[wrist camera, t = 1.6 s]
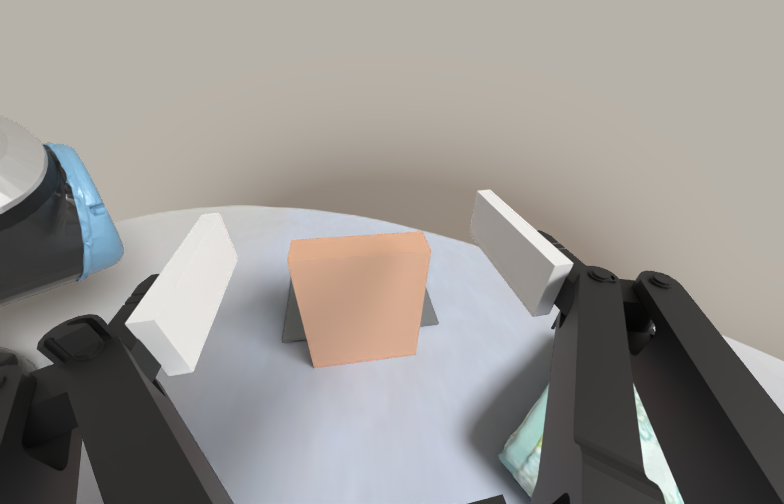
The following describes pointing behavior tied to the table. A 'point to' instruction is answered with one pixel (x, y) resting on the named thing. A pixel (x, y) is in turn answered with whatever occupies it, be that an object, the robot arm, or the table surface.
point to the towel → (527, 443)
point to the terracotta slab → (360, 295)
